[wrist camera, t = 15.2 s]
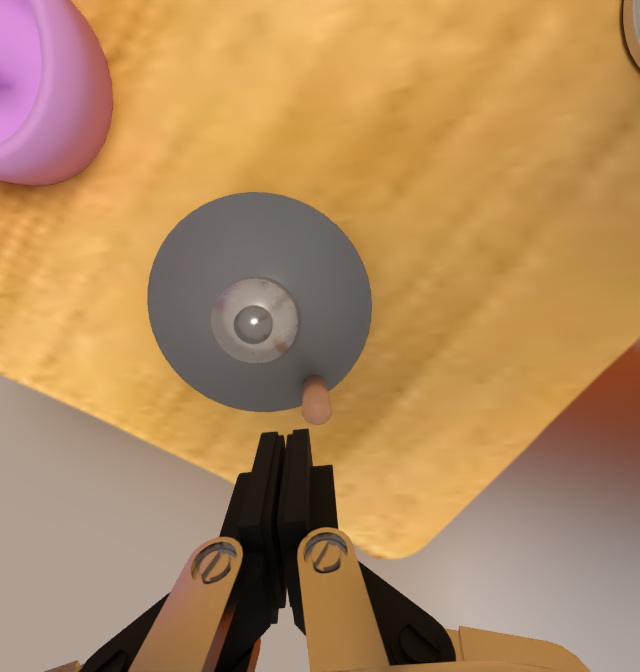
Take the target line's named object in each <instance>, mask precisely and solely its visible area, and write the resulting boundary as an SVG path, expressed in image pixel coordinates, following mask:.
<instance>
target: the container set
mask: <svg viewBox="0 0 640 672" xmlns="http://www.w3.org/2000/svg"><path fill="white" fill-rule="evenodd" d="M112 109H113V95H112V82H111V77H110V73H109V69H108V65H107V61H106V58H105V56H104V53H103V51H102V48H101V46H100V44H99V41H98V39H97V37H96V35H95V34H94V32H93V30H92V29H91V27H90V25H89V24H88V22H87V20H86V19H85V17H84V16H83V15H82V14H81V12H80V11H79V10H78V9H77V8H76V6H75V5H74V4H73V3H72V2H71V0H0V181H4V182H9V183H14V184H20V185H30V186H41V185H51V184H55V183H58V182H61V181H64V180H67V179H70V178H71V177H73V176H75V175H76V174H78V173H79V172H81V171H83V170H84V169H85V168H86V167H87V166H88V165H89V164H90V163H91V162H92V161H93V160H94V159H95V158H96V156H97V154H98V153H99V151H100V149H101V148H102V146H103V144H104V143H105V140H106V137H107V134H108V131H109V128H110V125H111V118H112Z"/></svg>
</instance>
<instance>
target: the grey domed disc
mask: <svg viewBox="0 0 640 672" xmlns="http://www.w3.org/2000/svg"><path fill="white" fill-rule="evenodd" d="M256 276H260V277H267V278H270V279H273V280H275V281H277V282H279V283H281V284H282V285H283V286H284V287H286V288H287V289H288V291H289V292H290V293H291V294H292V296H293V298H294V300H295V302H296V305H297V309H298V326H297V332H296V336H295V339H294V341H293V343H292V344H291V346H290V347H289V349H288V350H287V351H286V352H285V353H284V354H282V355H281V356H280V357H278V358H276V359H274V360H272V361H269V362H265V363H247V362H243V361H240V360H238V359H236V358H234V357H232V356H230V355H229V354H228V353H227V352H225V351H224V350H223V349H222V348H221V346H220V345H219V344H218V342H217V340H216V339H215V336H214V334H213V331H212V326H211V314H212V309H213V306H214V304H215V302H216V300H217V298H218V297H219V296H220V294H221V293H222V292H223V291H224V290H225V289H227V288H228V287H229V286H231V285H233V284H235V283H236V282H238V281H240V280H242V279H245V278H248V277H256ZM371 311H372V302H371V290H370V285H369V281H368V276H367V273H366V271H365V268H364V265H363V262H362V260H361V258H360V256H359V255H358V253H357V251H356V249H355V247H354V246H353V245H352V243H351V242H350V240H349V239H348V237H347V236H346V235H345V234H344V233H343V232H342V231H341V229H340V228H339V227H338V226H337V225H336V224H335V223H333V222H332V221H331V220H330V219H329V218H327V217H326V216H325V215H324V214H322V213H320V212H319V211H317V210H316V209H314V208H313V207H311V206H309V205H307V204H305V203H302V202H300V201H298V200H295V199H292V198H289V197H286V196H282V195H277V194H271V193H258V192H248V193H240V194H233V195H229V196H225V197H222V198H218V199H216V200H213V201H211V202H209V203H206V204H204V205H202V206H201V207H199V208H198V209H196V210H194V211H193V212H191V213H190V214H189V215H187V216H186V217H185V218H184V219H183V220H181V221H180V222H179V223H178V224H177V225H176V226H175V228H174V229H173V230H172V231H171V232H170V233H169V234H168V236H167V238H166V239H165V241H164V242H163V244H162V245H161V247H160V249H159V251H158V253H157V255H156V257H155V260H154V263H153V266H152V269H151V273H150V277H149V284H148V312H149V319H150V323H151V327H152V330H153V334H154V336H155V339H156V341H157V343H158V346H159V348H160V349H161V351H162V353H163V355H164V357H165V358H166V360H167V361H168V362H169V364H170V365H171V366H172V368H173V369H174V370H175V371H176V373H177V374H178V375H179V376H180V377H181V378H182V379H183V380H184V381H185V382H187V383H188V384H189V385H190V386H191V387H193V388H194V389H195V390H197V391H198V392H200V393H201V394H203V395H204V396H206V397H208V398H210V399H212V400H214V401H216V402H218V403H221V404H223V405H226V406H229V407H232V408H236V409H241V410H246V411H255V412H274V411H282V410H287V409H291V408H295V407H299V406H301V405H302V414H303V417H304V419H305V420H306V421H307V422H308V423H310V424H313V425H320V424H323V423H325V422H326V421H328V420H329V418H330V416H331V413H332V410H331V404H330V398H329V392H328V391H329V390H331V389H332V388H333V387H335V386H336V385H337V384H338V383H339V382H340V381H341V380H342V379H343V378H344V377H345V376H346V375H347V373H348V372H349V371H350V370H351V369H352V367H353V365H354V364H355V362H356V361H357V359H358V358H359V356H360V354H361V352H362V349H363V347H364V345H365V342H366V339H367V336H368V333H369V327H370V322H371Z"/></svg>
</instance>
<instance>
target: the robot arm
mask: <svg viewBox="0 0 640 672" xmlns="http://www.w3.org/2000/svg"><path fill="white" fill-rule="evenodd" d="M623 24H624V31H625V38H626V42H627V45H628V48H629V50H630V53H631V55H632V57H633V58H634V60H635V62H636V63H637V65H638V66H639V67H640V0H624V10H623ZM287 590H288V596H289V602H290V607H292V610H293V616H294V622H295V625H296V626H297V627H298V628H299V629H300V630H301V631H302V632H303V634H304V635H305V636H306V638H307V647H308V655H309V664H310V672H590V670H589V669H588V668H587V667H586V666H585V665H584V664H583V663H582V662H581V661H580V660H579V658H578V657H577V656H576V655H574V654H573V653H571V652H570V651H568V650H567V649H565V648H564V647H562V646H560V645H557V644H554V643H551V642H548V641H543V640H537V639H532V638H526V637H520V636H514V635H509V634H503V633H497V632H492V631H486V630H479V629H474V628H469V627H463V626H459V631H456V630H450V629H444V627H443V626H442V625H441V624H439V622H437V621H436V620H435V619H434V618H433V617H432V616H430V615H429V614H428V613H426V612H425V611H424V610H422V609H421V608H420V607H419V606H417V605H416V604H415V603H413V602H412V601H411V600H409V599H408V598H407V597H405V596H404V595H403V594H401V593H400V592H399V591H397V590H396V589H394V588H393V587H392V586H391V585H389V584H388V583H387V582H385V581H384V580H383V579H381V578H380V577H379V576H378V575H376V574H375V573H373V572H372V571H371V570H370V569H368V568H367V567H366V566H364V565H363V564H362V563H360V562H359V561H358V560H357V557H356V553H355V551H354V547H353V544H352V542H351V540H350V538H349V537H348V536H347V535H346V534H345V533H344V532H342V531H340V530H338V521H337V510H336V499H335V488H334V477H333V467H332V465H324V466H313V462H312V454H311V445H310V436H309V429H299V430H293V434H290V435H288V436H287V443H286V448H285V440H284V436H283V435H278V432H267V433H262V434H261V437H260V441H259V445H258V449H257V453H256V457H255V460H254V464H253V468H252V472H248V473H240V474H239V476H238V478H237V481H236V484H235V488H234V491H233V494H232V497H231V501H230V504H229V507H228V510H227V513H226V516H225V520H224V523H223V526H222V529H221V532H220V536H219V537H218V538H215V539H212V540H209V541H207V542H205V543H204V544H203V545H201V546H200V547H198V548H197V549H196V550H195V551H194V552H193V554H192V555H191V556H190V558H189V559H188V561H187V563H186V564H185V567H184V568H183V570H182V572H181V574H180V576H179V577H178V579H177V581H176V583H175V585H174V587H173V589H172V590H171V592H170V593H169V594H167V595H166V596H165V597H163V598H162V599H161V600H160V601H158V602H157V603H156V604H155V605H153V606H152V607H151V608H150V609H149V610H147V611H146V612H145V613H143V614H142V615H141V616H140V617H138V618H137V619H136V620H135V621H133V622H132V623H131V624H130V625H128V626H127V627H126V628H125V629H123V630H122V631H121V632H120V633H118V634H117V635H116V636H115V637H114V638H112V639H111V640H110V641H109V642H107V643H106V644H105V645H104V646H102V647H101V648H100V649H99V650H98V651H97V652H96V653H94V654H93V655H92V656H91V657H90V658H89V659H88V660H87V661H86V663H85V664H82V665H80V664H79V662H78V661H74V662H71V663H68V664H65V665H62V666H59V667H57V668H53V669H51V670H48V671H45V672H255V668H256V664H257V660H258V656H259V652H260V644H261V638H260V637H261V636H262V635H263V634H264V633H265V632H266V630H267V629H268V628H269V627H270V625H271V624H276V623H277V621H278V610H279V608H285V605H286V592H287Z"/></svg>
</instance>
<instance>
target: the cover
mask: <svg viewBox="0 0 640 672" xmlns="http://www.w3.org/2000/svg"><path fill="white" fill-rule="evenodd" d="M211 326H212V331H213V334H214V336H215V339H216V340H217V342H218V344H219V345H220V346H221V348H222V349H223V350H224V351H225V352H227V353H228V354H229V355H230V356H232V357H234V358H236V359H238V360H240V361H243V362H247V363H265V362H269V361H272V360H274V359H276V358H278V357H280V356H281V355H282V354H284V353H285V352H286V351H287V350H288V349H289V347H290V346H291V344H292V343H293V341H294V339H295V336H296V332H297V326H298V309H297V305H296V302H295V300H294V298H293V296H292V294H291V293H290V292H289V291H288V289H287V288H286V287H284V286H283V285H282V284H281V283H279V282H277V281H275V280H273V279H270V278H267V277H260V276H256V277H248V278H245V279H242V280H240V281H238V282H236V283H235V284H233V285H231V286H229V287H228V288H227V289H225V290H224V291H223V292H222V293H221V294H220V296H219V297H218V298H217V300H216V302H215V304H214V306H213V309H212V314H211Z"/></svg>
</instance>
